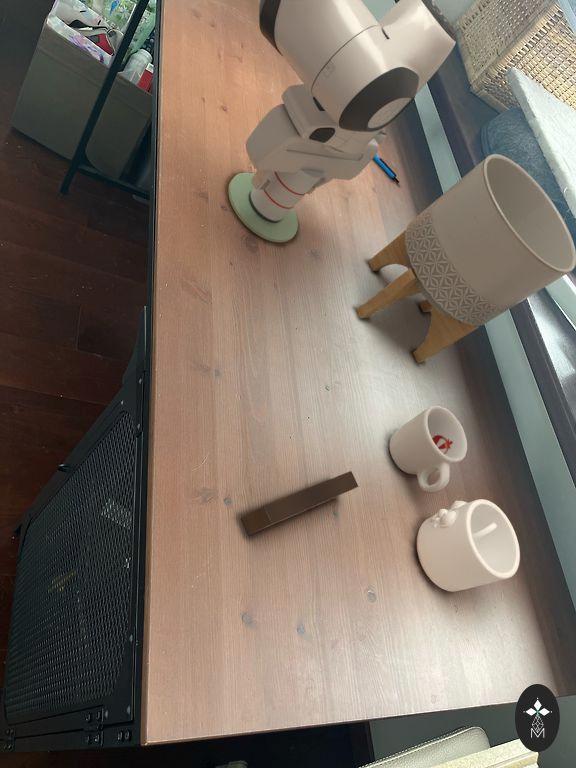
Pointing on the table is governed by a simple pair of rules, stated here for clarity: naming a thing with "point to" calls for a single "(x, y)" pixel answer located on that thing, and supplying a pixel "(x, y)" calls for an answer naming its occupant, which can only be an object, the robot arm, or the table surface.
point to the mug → (468, 546)
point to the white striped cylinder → (282, 193)
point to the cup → (429, 446)
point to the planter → (476, 252)
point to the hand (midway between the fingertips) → (281, 188)
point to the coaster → (249, 217)
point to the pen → (385, 167)
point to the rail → (298, 502)
